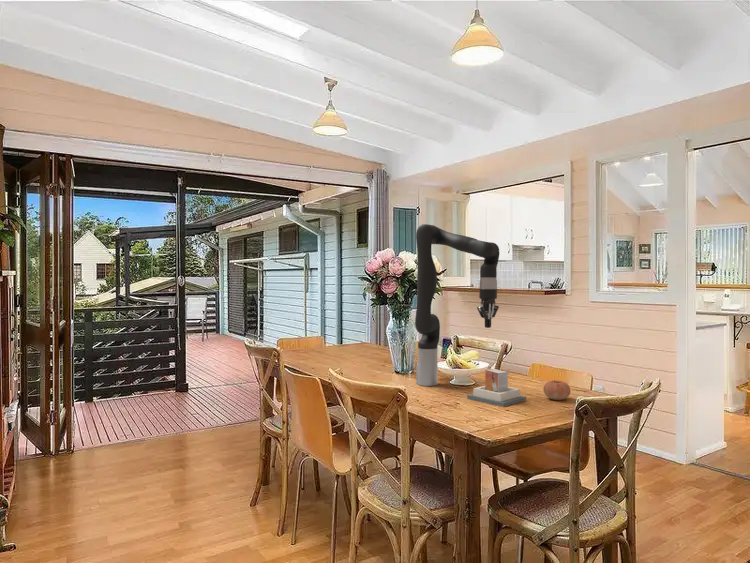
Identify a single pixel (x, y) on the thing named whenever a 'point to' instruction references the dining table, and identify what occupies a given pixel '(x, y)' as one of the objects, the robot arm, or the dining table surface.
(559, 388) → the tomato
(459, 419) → the dining table surface
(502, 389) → the small box
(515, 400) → the socket board
